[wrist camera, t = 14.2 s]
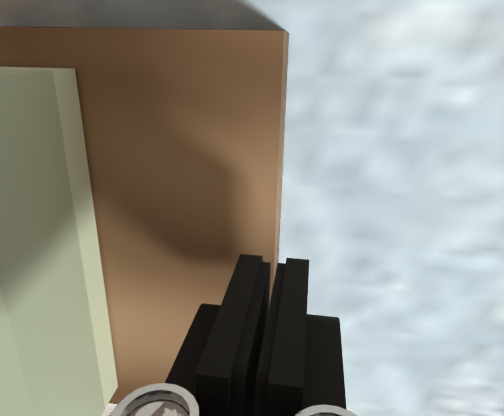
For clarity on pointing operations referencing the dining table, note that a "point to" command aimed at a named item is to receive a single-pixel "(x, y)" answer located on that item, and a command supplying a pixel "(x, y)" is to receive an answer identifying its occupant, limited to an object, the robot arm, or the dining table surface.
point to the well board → (171, 168)
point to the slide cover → (49, 254)
